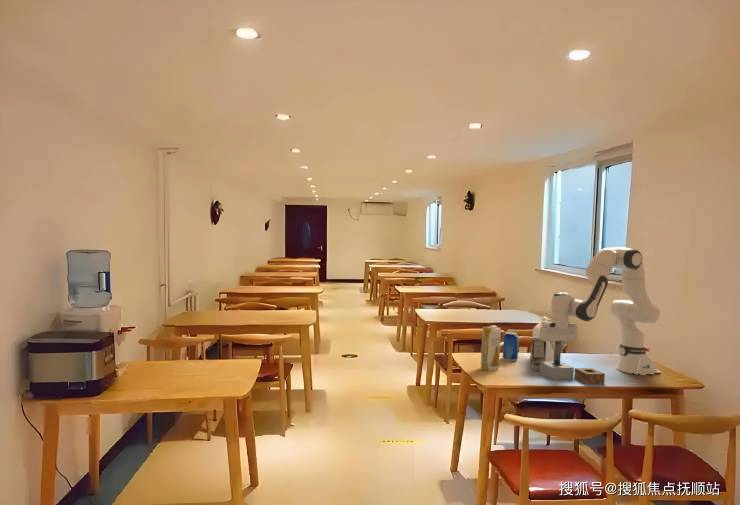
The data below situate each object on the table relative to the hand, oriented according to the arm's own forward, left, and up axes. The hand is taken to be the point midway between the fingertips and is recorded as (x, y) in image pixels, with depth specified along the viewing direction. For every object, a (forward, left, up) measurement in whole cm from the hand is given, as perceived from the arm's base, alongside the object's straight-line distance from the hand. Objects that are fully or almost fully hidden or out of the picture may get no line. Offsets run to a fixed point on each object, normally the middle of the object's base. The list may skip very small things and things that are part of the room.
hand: (557, 349), depth 247 cm
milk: (-9, -27, -14) cm, 32 cm away
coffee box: (+3, -13, -14) cm, 20 cm away
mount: (-13, +9, -14) cm, 21 cm away
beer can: (+10, -31, -14) cm, 36 cm away
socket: (0, 0, -14) cm, 14 cm away
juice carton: (+31, -14, -14) cm, 37 cm away
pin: (0, 0, -8) cm, 8 cm away
